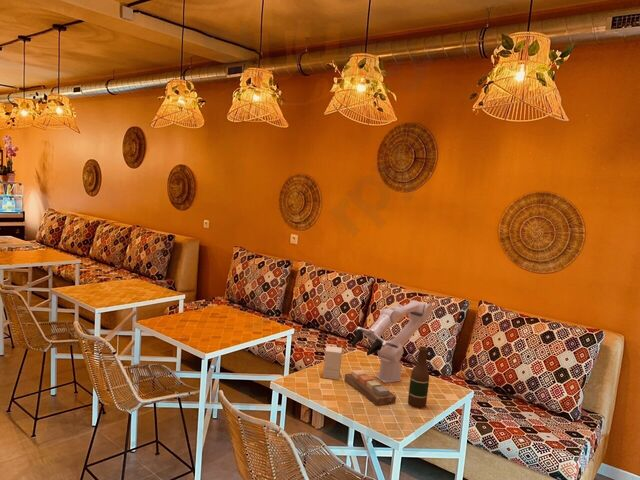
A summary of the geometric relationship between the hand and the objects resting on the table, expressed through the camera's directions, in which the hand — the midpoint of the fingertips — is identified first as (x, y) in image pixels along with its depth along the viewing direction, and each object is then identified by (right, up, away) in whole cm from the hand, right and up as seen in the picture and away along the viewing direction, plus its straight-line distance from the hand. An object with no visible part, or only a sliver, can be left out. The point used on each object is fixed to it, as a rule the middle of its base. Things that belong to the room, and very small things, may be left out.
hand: (360, 349), depth 204 cm
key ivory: (0, -14, +10) cm, 17 cm away
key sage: (+5, -16, -1) cm, 17 cm away
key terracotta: (+3, -15, +4) cm, 16 cm away
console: (+4, -18, +2) cm, 19 cm away
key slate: (+8, -17, -6) cm, 20 cm away
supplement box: (-12, -16, +15) cm, 25 cm away
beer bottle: (+23, -21, -6) cm, 31 cm away
